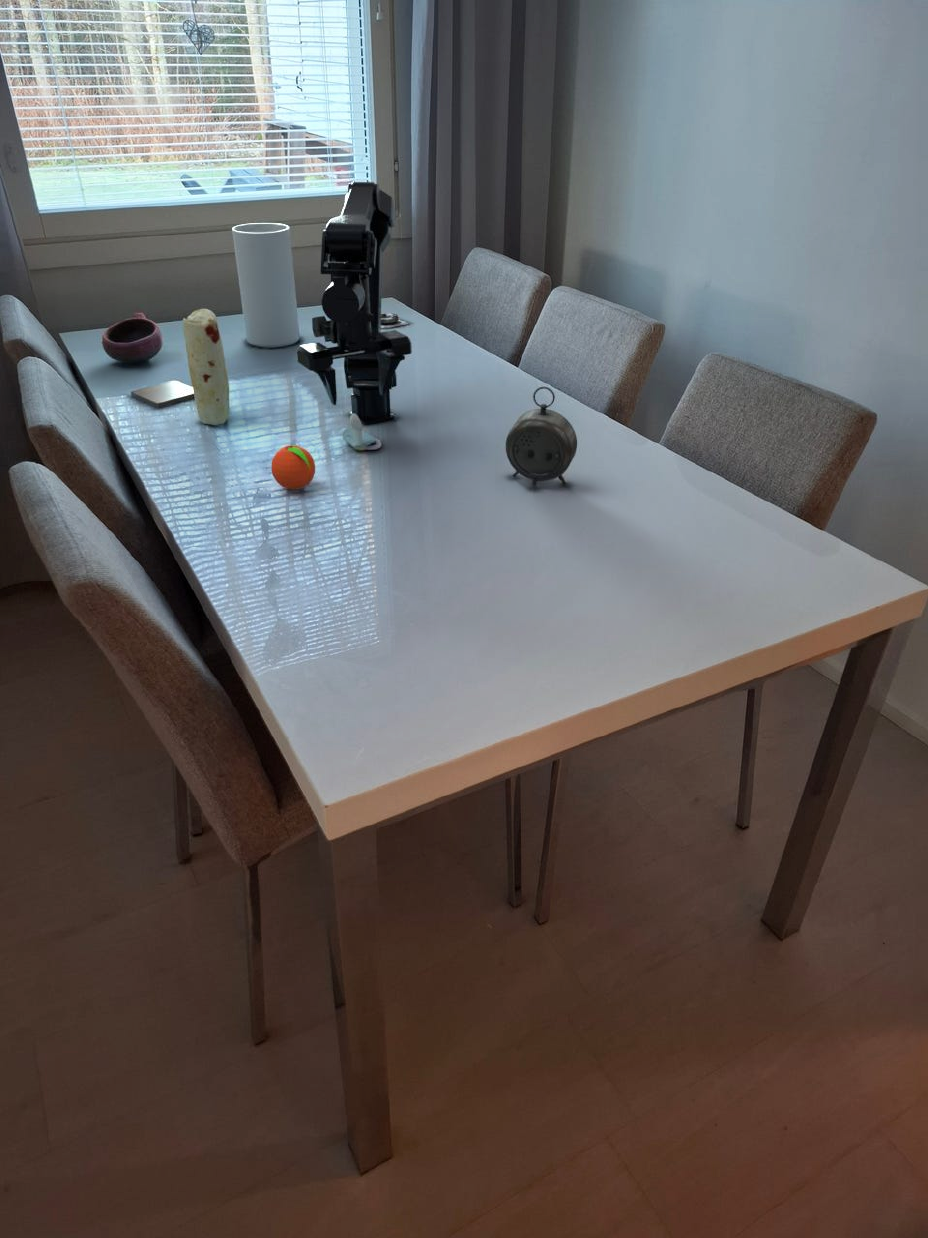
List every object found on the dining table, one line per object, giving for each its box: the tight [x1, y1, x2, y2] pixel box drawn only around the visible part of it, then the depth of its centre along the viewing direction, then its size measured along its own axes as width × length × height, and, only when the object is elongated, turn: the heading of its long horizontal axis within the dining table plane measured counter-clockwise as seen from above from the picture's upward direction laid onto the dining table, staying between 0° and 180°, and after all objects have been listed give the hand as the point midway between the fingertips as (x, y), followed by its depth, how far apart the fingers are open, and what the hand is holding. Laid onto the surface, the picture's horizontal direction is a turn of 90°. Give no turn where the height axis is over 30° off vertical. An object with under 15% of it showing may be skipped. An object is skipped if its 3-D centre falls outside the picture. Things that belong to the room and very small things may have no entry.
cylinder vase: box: [231, 222, 301, 349], centre depth 200 cm, size 12×12×25 cm
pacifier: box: [341, 413, 382, 451], centre depth 152 cm, size 7×6×6 cm
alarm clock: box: [505, 385, 578, 490], centre depth 137 cm, size 11×5×16 cm, turn 71°
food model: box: [182, 308, 231, 426], centre depth 159 cm, size 10×7×20 cm
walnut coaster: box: [130, 379, 195, 409], centre depth 175 cm, size 10×10×1 cm
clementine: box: [270, 444, 316, 491], centre depth 137 cm, size 8×7×7 cm
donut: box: [381, 312, 409, 329], centre depth 220 cm, size 8×8×2 cm
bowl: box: [101, 312, 164, 364], centre depth 193 cm, size 16×13×8 cm
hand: (358, 399), depth 149 cm, fingers open, 9 cm apart
